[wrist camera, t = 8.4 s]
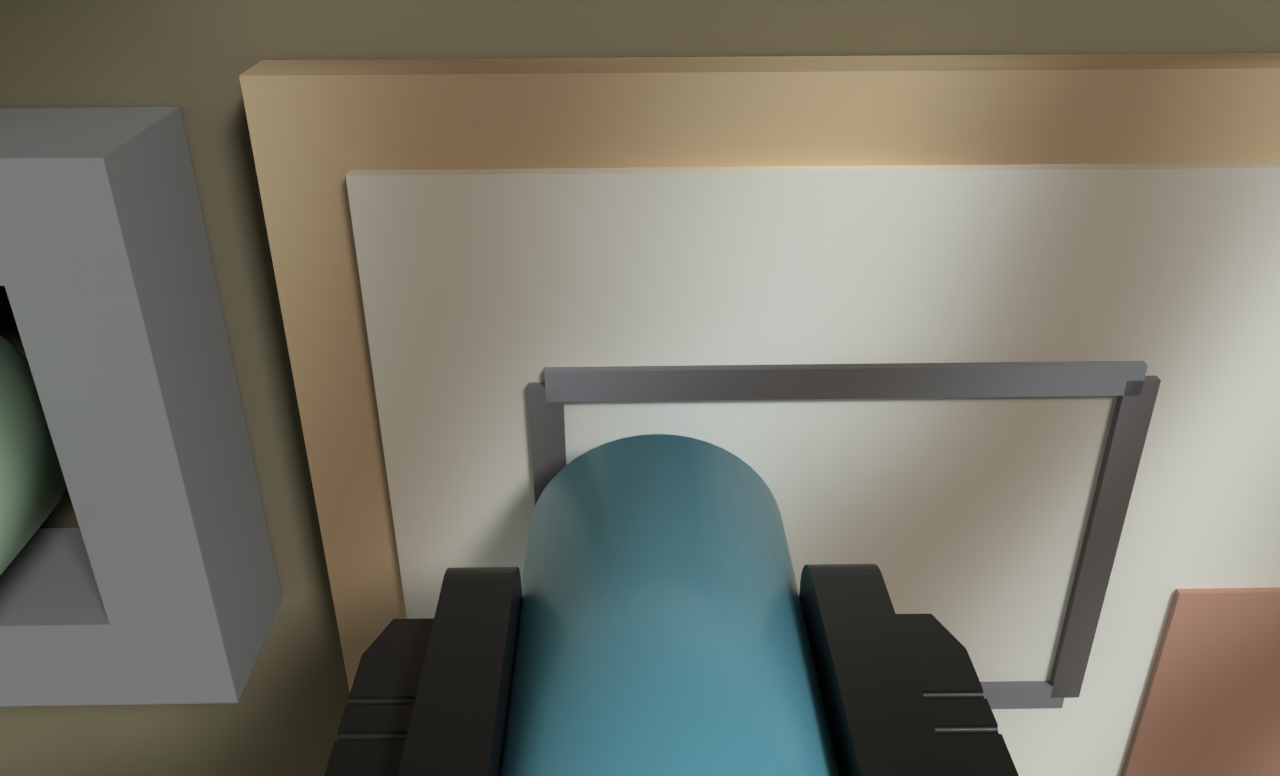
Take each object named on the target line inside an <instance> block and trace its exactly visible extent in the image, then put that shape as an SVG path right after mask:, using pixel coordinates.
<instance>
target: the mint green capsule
mask: <svg viewBox="0 0 1280 776" xmlns="http://www.w3.org/2000/svg"><path fill="white" fill-rule="evenodd" d="M65 489H66V482H65V479H64V476H63V473H62V469H61V466H60V463H59V460H58V457H57V453H56V450H55V447H54V444H53V440H52V437H51V434H50V431H49V428H48V424H47V421H46V418H45V415H44V411H43V408H42V405H41V402H40V399H39V395H38V392H37V389H36V386H35V382H34V379H33V376H32V373H31V370H30V366H29V363H28V360H27V359H26V358H25V357H24V356H23V355H22V354H21V353H20V352H19V351H18V350H17V349H16V348H15V347H14V346H12V345H11V344H10V343H9V342H8V341H7V340H5V339H4V338H3V337H1V336H0V575H1V574H2V573H3V572H4V570H5V569H6V568H7V567H8V566H9V564H10V563H11V562H12V561H13V559H14V558H15V557H16V556H17V554H18V553H19V552H20V551H21V550H22V548H23V547H24V546H25V545H26V543H27V542H28V541H29V540H30V538H31V537H32V536H33V535H34V534H35V532H36V531H37V530H38V529H39V527H40V526H41V525H42V524H43V522H44V521H45V520H46V519H47V518H48V516H49V515H50V514H51V513H52V511H53V510H54V508H55V507H56V506H57V504H58V503H59V502H60V500H61V498H62V495H63V493H64V491H65Z"/></svg>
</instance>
